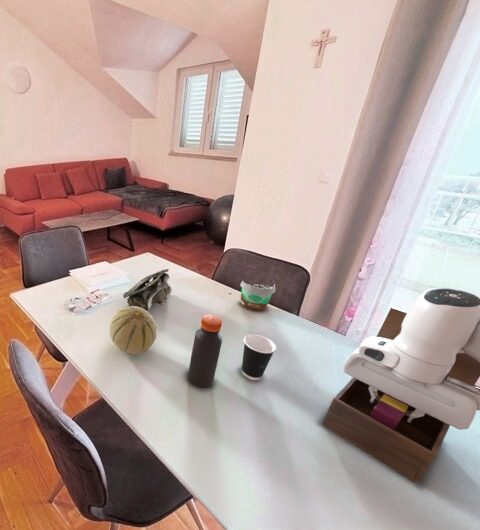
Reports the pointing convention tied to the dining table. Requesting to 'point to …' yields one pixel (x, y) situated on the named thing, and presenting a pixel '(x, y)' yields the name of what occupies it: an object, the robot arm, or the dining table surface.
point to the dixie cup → (256, 355)
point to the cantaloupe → (133, 330)
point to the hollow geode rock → (150, 291)
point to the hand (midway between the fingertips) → (389, 410)
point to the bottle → (205, 351)
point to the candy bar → (389, 411)
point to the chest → (385, 432)
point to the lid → (464, 364)
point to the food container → (255, 296)
